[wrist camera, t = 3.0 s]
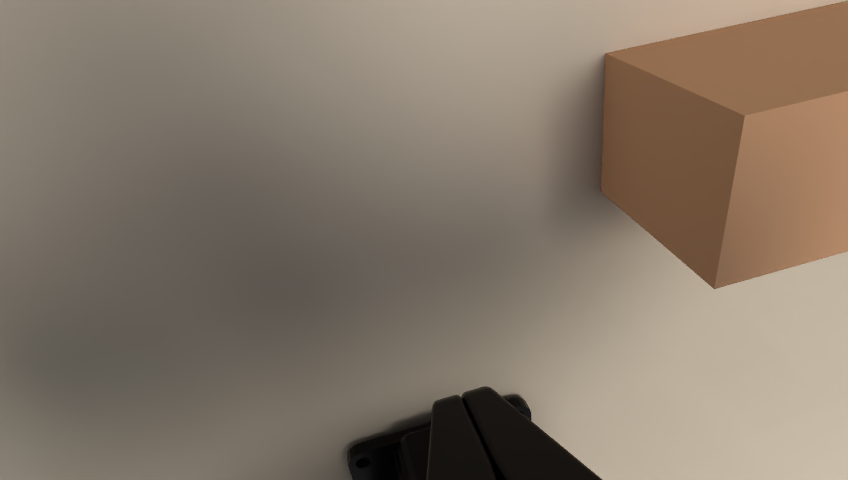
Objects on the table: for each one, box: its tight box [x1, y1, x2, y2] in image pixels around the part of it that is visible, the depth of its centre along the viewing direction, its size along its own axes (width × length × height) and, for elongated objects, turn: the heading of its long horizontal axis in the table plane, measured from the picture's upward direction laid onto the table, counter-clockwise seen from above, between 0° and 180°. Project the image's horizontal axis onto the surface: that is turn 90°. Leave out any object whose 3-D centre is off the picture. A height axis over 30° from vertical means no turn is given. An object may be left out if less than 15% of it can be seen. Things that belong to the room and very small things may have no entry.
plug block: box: [601, 1, 848, 289], centre depth 14 cm, size 4×8×5 cm, turn 99°
